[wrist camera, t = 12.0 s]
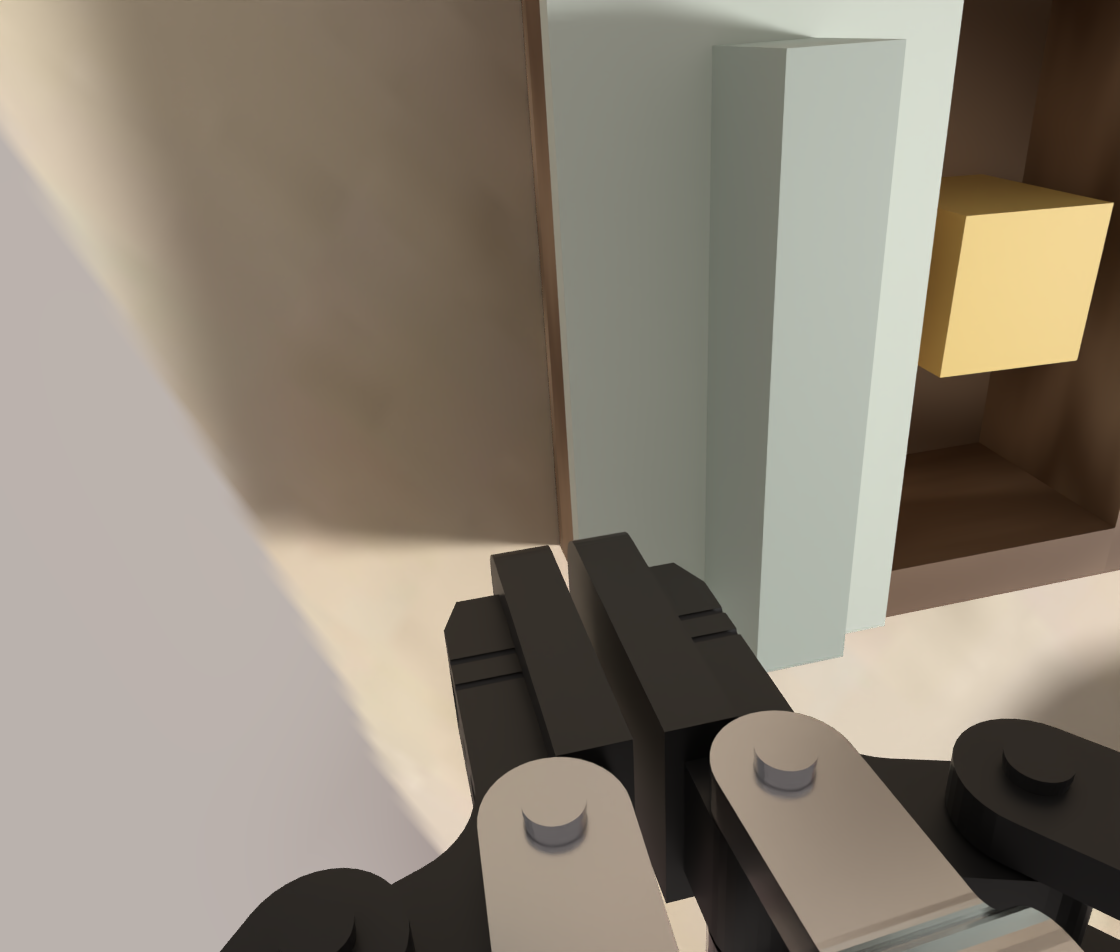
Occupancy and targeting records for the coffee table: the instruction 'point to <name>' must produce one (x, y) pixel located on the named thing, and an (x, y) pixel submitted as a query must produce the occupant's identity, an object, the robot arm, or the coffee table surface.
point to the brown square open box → (996, 396)
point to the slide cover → (747, 288)
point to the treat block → (1009, 275)
